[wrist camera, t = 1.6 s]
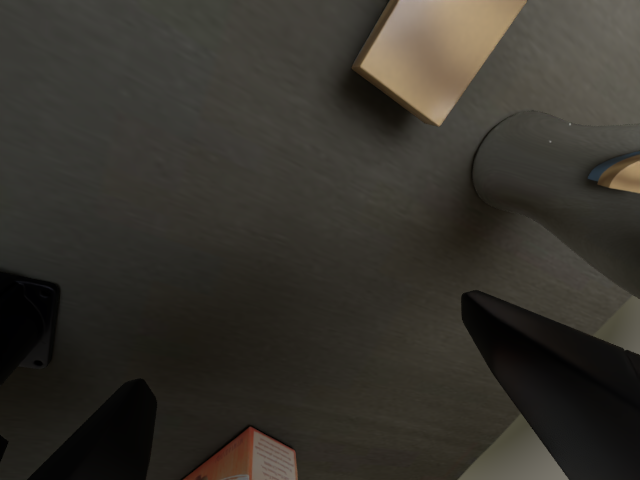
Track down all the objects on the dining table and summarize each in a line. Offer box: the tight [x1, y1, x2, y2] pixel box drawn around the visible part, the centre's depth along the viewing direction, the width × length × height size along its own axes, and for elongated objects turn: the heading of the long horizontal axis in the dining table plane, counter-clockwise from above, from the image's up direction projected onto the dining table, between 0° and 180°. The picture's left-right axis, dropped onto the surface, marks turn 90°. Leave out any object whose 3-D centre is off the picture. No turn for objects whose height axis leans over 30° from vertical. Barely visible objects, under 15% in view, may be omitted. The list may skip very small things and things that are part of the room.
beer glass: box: [472, 111, 640, 299], centre depth 14 cm, size 7×7×15 cm
